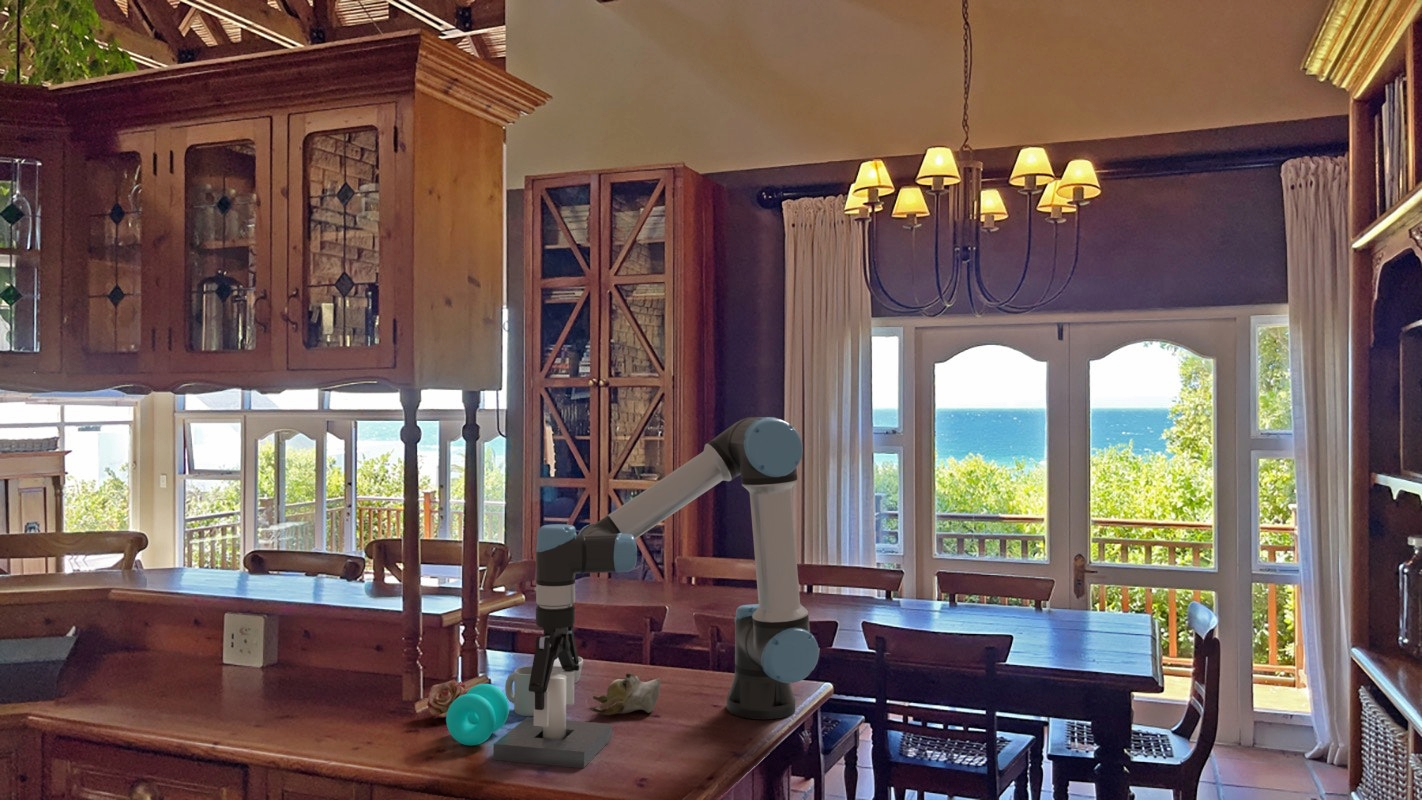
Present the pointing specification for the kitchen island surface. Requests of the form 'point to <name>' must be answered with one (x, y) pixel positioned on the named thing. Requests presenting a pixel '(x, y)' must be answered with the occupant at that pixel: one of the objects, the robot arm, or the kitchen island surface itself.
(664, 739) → the kitchen island surface
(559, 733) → the white tapered capsule
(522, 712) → the cup
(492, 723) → the turquoise yo-yo
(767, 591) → the robot arm
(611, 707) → the ceramic sculpture
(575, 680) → the ramekin
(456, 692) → the flower
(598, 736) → the block
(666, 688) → the kitchen island surface
